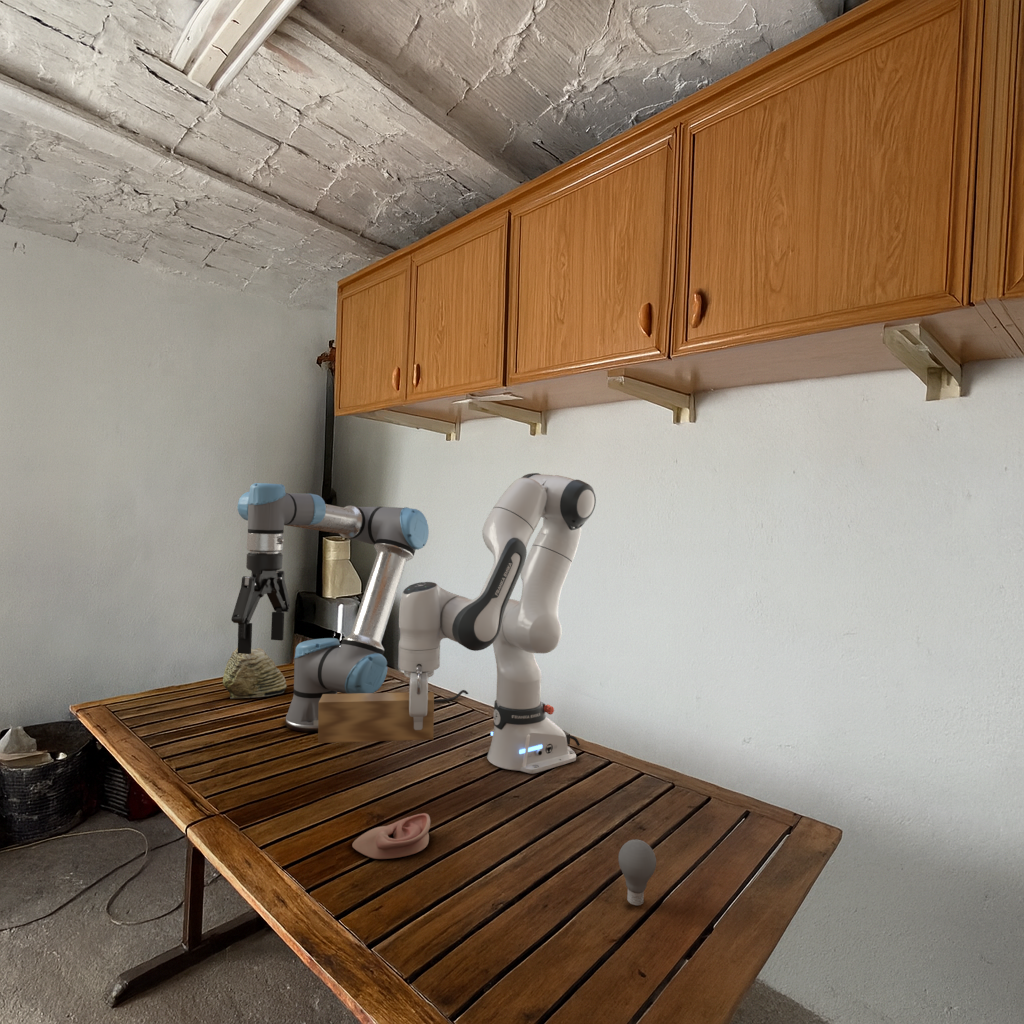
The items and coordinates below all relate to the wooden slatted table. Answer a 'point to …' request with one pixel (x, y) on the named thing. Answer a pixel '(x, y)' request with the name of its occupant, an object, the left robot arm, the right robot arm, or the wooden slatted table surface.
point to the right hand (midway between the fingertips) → (418, 722)
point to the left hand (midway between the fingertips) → (261, 646)
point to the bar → (371, 718)
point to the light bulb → (636, 868)
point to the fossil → (252, 675)
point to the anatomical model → (395, 838)
